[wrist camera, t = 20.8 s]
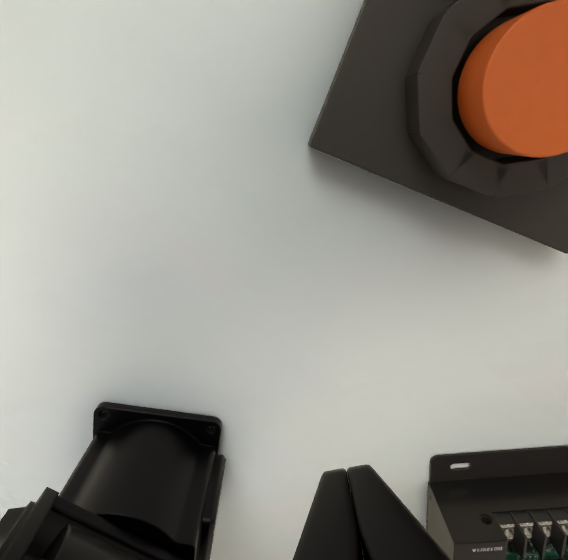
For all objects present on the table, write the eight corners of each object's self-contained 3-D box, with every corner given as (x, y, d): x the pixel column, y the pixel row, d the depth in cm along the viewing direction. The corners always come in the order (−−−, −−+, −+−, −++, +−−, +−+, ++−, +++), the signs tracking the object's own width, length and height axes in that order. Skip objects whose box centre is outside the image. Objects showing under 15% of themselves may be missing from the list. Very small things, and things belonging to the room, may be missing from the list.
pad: (307, 145, 18) (311, 148, 15) (404, -102, 15) (432, -154, 12) (549, 246, 20) (594, 266, 17) (677, 39, 17) (757, 21, 14)
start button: (434, 126, 15) (456, 125, 13) (498, -8, 14) (533, -30, 12) (538, 172, 16) (575, 178, 14) (610, 48, 15) (661, 36, 13)
